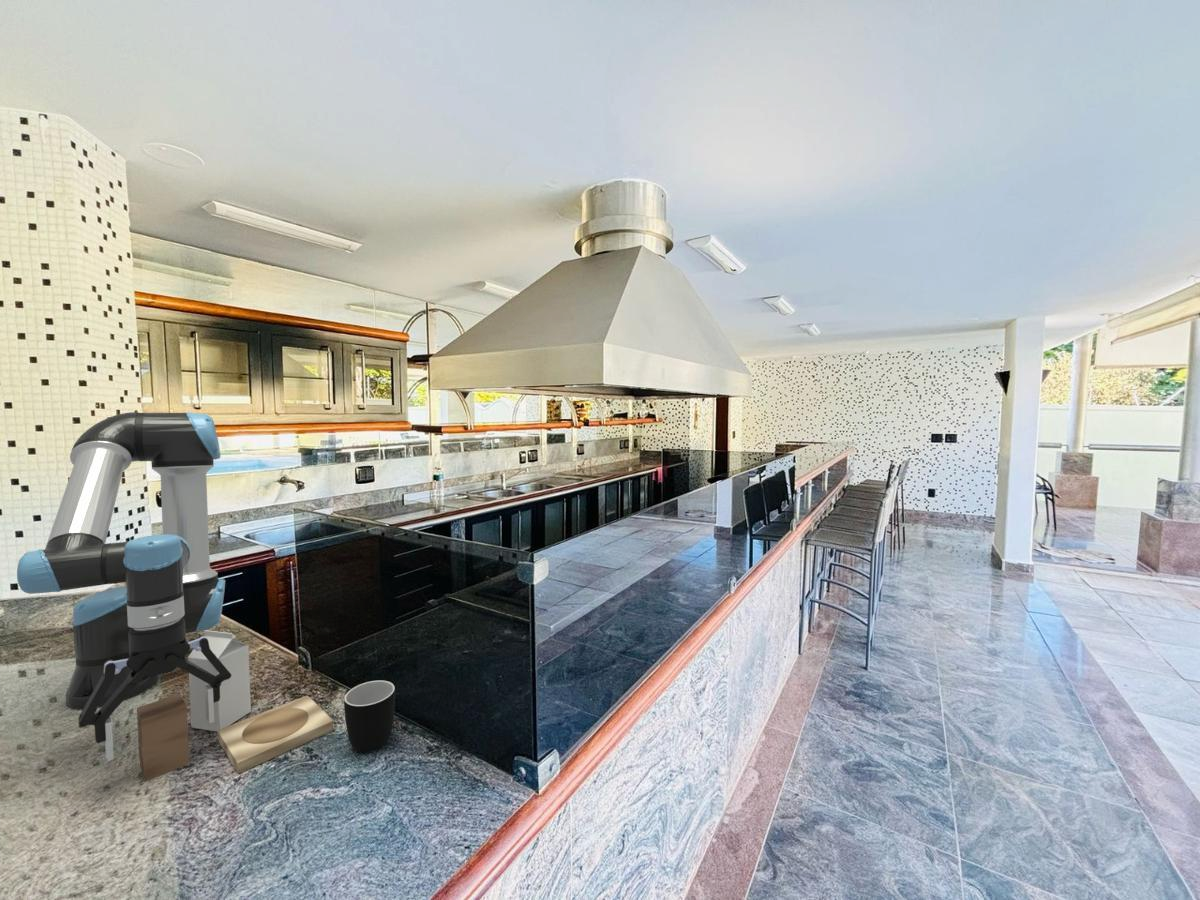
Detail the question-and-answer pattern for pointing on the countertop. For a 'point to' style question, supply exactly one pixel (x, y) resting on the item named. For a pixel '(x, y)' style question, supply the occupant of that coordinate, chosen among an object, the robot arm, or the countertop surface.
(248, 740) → the board
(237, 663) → the milk carton
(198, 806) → the countertop surface
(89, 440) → the robot arm
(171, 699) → the block
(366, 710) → the mug
